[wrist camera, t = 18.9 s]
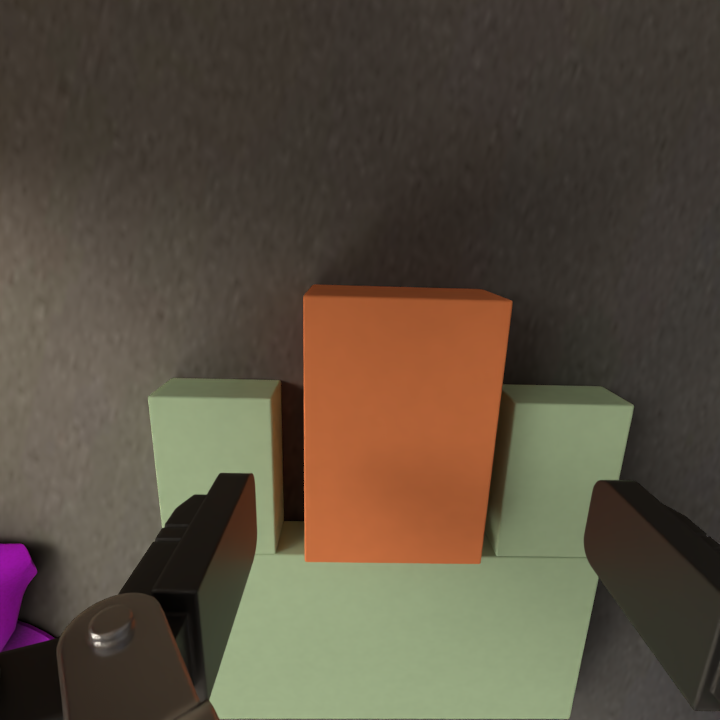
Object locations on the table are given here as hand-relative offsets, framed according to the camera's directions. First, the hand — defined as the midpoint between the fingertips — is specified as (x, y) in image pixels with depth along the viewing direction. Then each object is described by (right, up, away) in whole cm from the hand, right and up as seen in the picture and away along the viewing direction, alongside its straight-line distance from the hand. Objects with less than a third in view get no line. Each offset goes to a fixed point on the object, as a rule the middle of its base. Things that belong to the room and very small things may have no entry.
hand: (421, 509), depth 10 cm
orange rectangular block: (0, +2, +6) cm, 6 cm away
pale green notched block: (-1, -4, +8) cm, 9 cm away
